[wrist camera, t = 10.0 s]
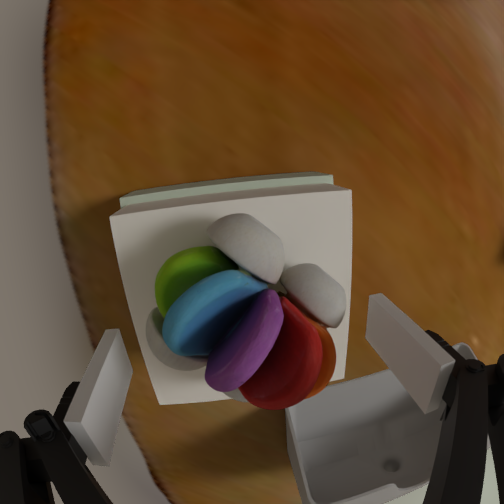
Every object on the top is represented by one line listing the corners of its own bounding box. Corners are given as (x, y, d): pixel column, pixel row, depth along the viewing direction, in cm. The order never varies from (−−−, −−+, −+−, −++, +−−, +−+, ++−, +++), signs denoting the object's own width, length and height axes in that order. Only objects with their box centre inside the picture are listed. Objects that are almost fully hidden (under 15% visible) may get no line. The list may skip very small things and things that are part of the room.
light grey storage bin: (286, 470, 36) (307, 543, 24) (281, 394, 31) (313, 491, 19) (438, 419, 38) (477, 471, 26) (465, 339, 33) (525, 392, 21)
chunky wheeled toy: (260, 383, 20) (282, 471, 13) (129, 308, 17) (93, 393, 10) (348, 287, 18) (413, 354, 11) (216, 185, 16) (222, 208, 9)
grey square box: (133, 191, 23) (99, 208, 15) (313, 171, 24) (359, 180, 16) (165, 348, 27) (154, 409, 19) (317, 327, 28) (349, 381, 21)
